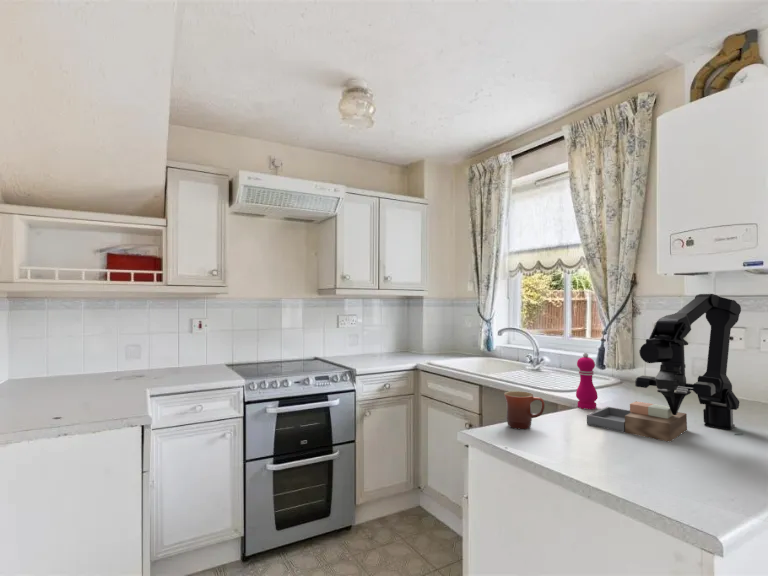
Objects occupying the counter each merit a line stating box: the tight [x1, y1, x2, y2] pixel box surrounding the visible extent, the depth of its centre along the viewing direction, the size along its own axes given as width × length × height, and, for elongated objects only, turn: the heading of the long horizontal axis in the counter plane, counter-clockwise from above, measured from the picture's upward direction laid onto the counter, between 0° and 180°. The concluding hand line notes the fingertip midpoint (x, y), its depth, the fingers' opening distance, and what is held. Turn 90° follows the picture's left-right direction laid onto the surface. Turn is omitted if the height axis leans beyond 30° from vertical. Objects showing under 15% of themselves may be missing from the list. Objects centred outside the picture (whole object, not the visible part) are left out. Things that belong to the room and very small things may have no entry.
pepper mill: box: [575, 352, 598, 410], centre depth 158 cm, size 7×7×20 cm
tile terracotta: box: [629, 401, 654, 415], centre depth 131 cm, size 5×5×2 cm
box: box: [586, 406, 632, 433], centre depth 137 cm, size 11×16×3 cm
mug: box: [503, 390, 546, 430], centre depth 134 cm, size 12×9×10 cm
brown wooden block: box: [624, 411, 688, 443], centre depth 128 cm, size 12×16×5 cm
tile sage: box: [648, 403, 673, 419], centre depth 127 cm, size 5×5×2 cm
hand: (674, 414), depth 124 cm, fingers closed
